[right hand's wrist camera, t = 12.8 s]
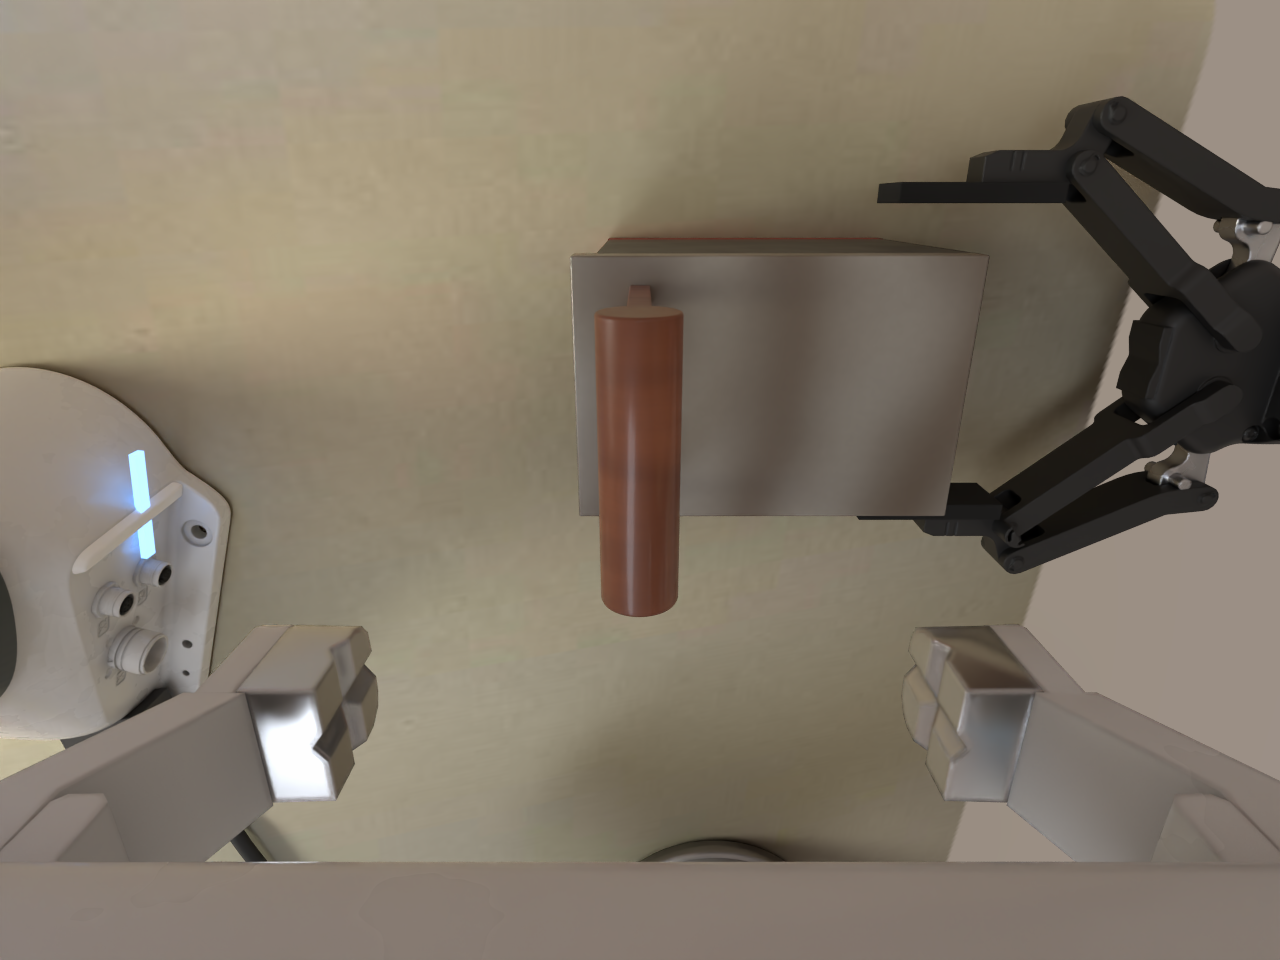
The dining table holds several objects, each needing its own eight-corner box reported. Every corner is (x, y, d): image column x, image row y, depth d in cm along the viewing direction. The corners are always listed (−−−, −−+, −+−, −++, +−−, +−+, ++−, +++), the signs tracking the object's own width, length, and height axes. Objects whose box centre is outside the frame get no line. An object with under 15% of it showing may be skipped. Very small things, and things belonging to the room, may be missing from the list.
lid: (582, 503, 28) (554, 643, 19) (573, 253, 25) (533, 282, 16) (932, 503, 28) (1067, 643, 19) (973, 252, 25) (1163, 281, 16)
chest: (612, 423, 38) (601, 503, 28) (608, 238, 35) (595, 252, 25) (855, 423, 38) (932, 503, 28) (876, 237, 35) (973, 252, 25)
